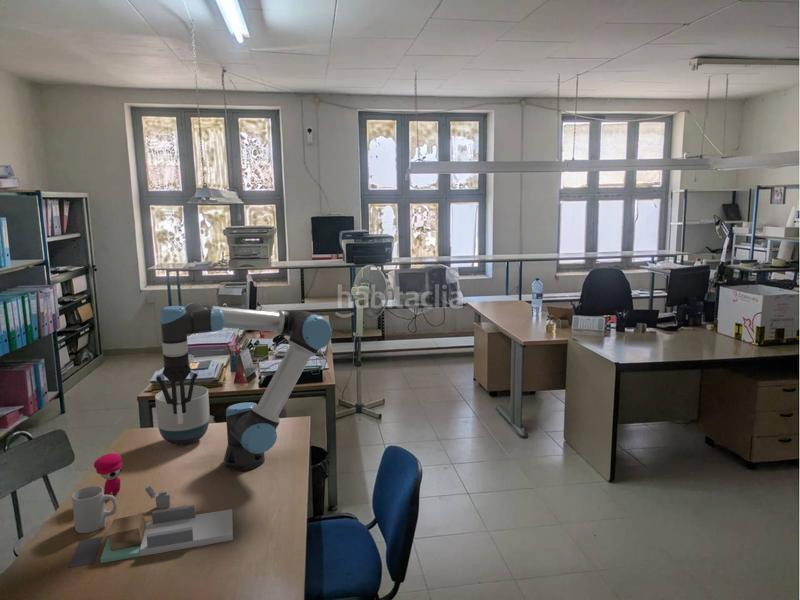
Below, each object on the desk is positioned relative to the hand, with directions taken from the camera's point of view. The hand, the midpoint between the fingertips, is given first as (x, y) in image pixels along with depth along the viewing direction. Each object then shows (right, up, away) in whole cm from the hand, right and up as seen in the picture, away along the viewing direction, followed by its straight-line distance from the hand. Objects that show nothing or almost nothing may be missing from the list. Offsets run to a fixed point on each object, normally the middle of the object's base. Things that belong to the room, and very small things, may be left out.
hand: (180, 422), depth 181 cm
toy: (-25, -26, +4) cm, 37 cm away
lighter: (-6, -27, -3) cm, 28 cm away
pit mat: (-17, -31, -26) cm, 44 cm away
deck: (+10, -30, -17) cm, 36 cm away
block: (-6, -29, -23) cm, 37 cm away
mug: (-21, -29, -12) cm, 38 cm away
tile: (-7, -31, -23) cm, 39 cm away
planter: (-17, -19, +47) cm, 53 cm away
